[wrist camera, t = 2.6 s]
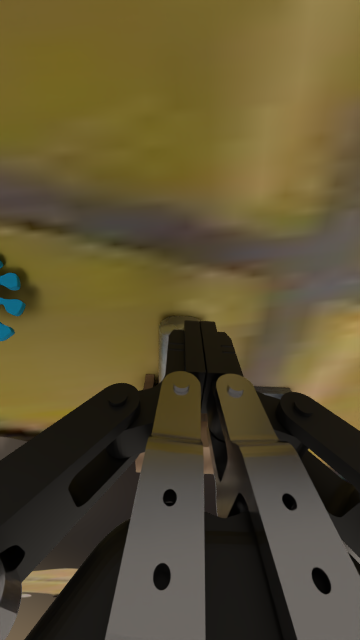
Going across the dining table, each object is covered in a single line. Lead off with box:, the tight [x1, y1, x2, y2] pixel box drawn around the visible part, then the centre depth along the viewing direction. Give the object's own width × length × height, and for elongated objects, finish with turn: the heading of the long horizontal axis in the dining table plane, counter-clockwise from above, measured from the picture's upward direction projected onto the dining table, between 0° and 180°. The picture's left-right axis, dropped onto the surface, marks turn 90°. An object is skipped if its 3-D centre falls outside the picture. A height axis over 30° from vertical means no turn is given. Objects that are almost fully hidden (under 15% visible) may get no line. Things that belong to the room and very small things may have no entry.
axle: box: [159, 316, 201, 383], centre depth 25 cm, size 18×4×4 cm, turn 177°
